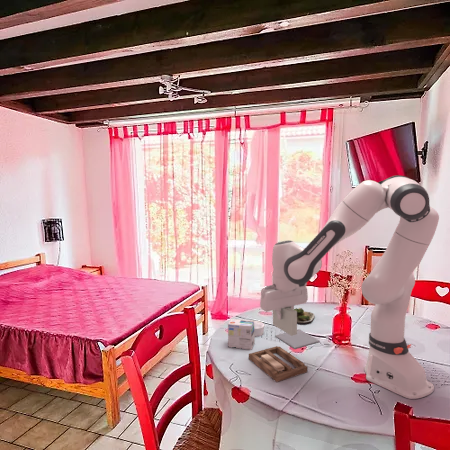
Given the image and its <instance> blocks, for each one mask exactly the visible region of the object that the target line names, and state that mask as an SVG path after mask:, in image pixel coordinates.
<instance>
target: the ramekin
mask: <svg viewBox="0 0 450 450" xmlns="http://www.w3.org/2000/svg"><path fill="white" fill-rule="evenodd" d="M264 329H265V324H264V322H262V321H259V320H254V335H255V337H260V336H263V334H264V332H265V331H264Z"/></svg>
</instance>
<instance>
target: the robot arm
mask: <svg viewBox="0 0 450 450" xmlns="http://www.w3.org/2000/svg"><path fill="white" fill-rule="evenodd" d="M384 209H390V210H392V212H394V214H396V215H397V216H399V218H400V219H399V221H398V224H397V226H396V228H395V230H394V233H393V234H392V237H391V239H390V241H389V243H388V244H387V247H386V249H385V251H384V252H383V254H382V255H381V257H379V259H378V261H377V262H376V264H375V265H374V267H373V268H372V270H371V271H370V272H369V274H368V275H367V277H366V278H364V279H363V281H362V283H361V287H360V288H361V293H362V296H363V297H364V299H365V300H366V301H368V302H369V303H371V304H373V305H374V306H373V308H372V310H371V314H370V332H369V333H368V345H369V349H368V355H367V360H366V363H365V365H364V372H365V374H366V375H365V379H366V381H368V382H371V383H372V384H375V385H378V386H380V387H382V388H384V389H386V390H389V392H392V393H395V394H397V395H399V396H401V397H404V398H406V399H410V400H411V399H412V400H415V399H416V400H417V399H421V398H424V397H427V396H429V395H431V394H432V393H434V390H435V387H434V384H433V383H432V382H430V381H429V380H427V373H426V370H425V368H424V367H423V366H422V364H420V362H419V361H418V360H417V359H416V358H415V357H414V356H413V355H412V353H411V352H410V351H409V349H410V348H412V343H411V344H407V340H406V338H405V327H406V318H407V317H406V315H407V311H408V308H409V303H410V299H411V295H412V291H413V289H414V287H415V284H416V278H415V275H414V273H413V272H415V270H416V268H417V267H418V266H419V265H420V264H421V262H422V260H423V258H424V256H425V254H426V252H427V250H428V248H429V246H430V245H431V242H432V240H433V238H434V235H435V234H436V231H437V227H438V224H439V220H440V215H439V213H438V212H437V210H436V209H435V208H433V207H431V206H430V196H429V194H428V191H427V190H426V188H424V187H423V186H422V185H421V184H419V182H417V181H416V180H414V179H411V178H410V177H408V176H406V175H400V174H398V175H392V176H390V177H388V178H386V179H383V180H380V181H379V182H377V181H375V180H371V179H368V180H364V181H362V182H360V183H359V184H357V186H355V187H354V188H353V189H352V190H350V192H349V193H348V194H347V195H346V196H344V197H343V198H342V199H341V201H340V203H338V205H337V206H336V208H335V209H334V210H333V212H332V213H331V214H330V217H329V218H328V220H327V221H326V223H325V224H324V225H323V227H322V229H321V230H320V231H319V233H318V234H317V235H316V236H314V238H313V239H312V240H311V241H310V242H309V244H307V245H306V246H305V247H303V246H302V247H301V246H300V245H298V243H296V242H295V241H293V240H283V241H282V240H281V241H280V242H276V243H275V244H274V245H273V246H272V247H273V248H272V255H271V257H272V258H271V264H272V269H273V270H272V273H271V274H272V276H271V277H272V281H271V282H272V284H270V285H265V286H263V288H261V290H260V303H259V307H260V309H261V310H263V311H264V312H271V311H272V312H273V310H275V311H276V313H277V318H278V319H279V320H280V319H283V314H281V313H280V311H281V308H285V307H289V308H292V309H295V306H298V305H302V304H303V305H304V304H306V303H307V302H308V299H309V296H308V295H309V294H308V293H309V292H308V288H307V285H308V282H309V281H310V280H311V279H312V278H313V277H315V275H316V274H317V273H319V271H320V270H321V268H322V265H323V263H322V262H323V261H322V259H323V258H324V257H325V256H326V254H328V253H329V252H330V250H331V249H332V248H334V247H335V246H336V245H337V244H339V243H340V242H342V241H343V240H345V239H347V238H349V237H351V236H352V235H354V234H355V233H357V232H358V231H359V230H361V229H362V228H363V227H365V226H366V225H367V223H369V222H370V220H371V219H372V218H373V217H374V216H375V215H376V214H377V213H378V212H380V211H382V210H384Z"/></svg>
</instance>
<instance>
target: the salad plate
mask: <svg viewBox="0 0 450 450" xmlns="http://www.w3.org/2000/svg"><path fill="white" fill-rule="evenodd" d="M294 310H296V311H297V325H308V324H311V323H312V322H313V320H314V319H315V313H313V312H311V311H305V309H304V308H303V307H298V308H297V307H296V308H294Z"/></svg>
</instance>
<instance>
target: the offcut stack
mask: <svg viewBox="0 0 450 450" xmlns="http://www.w3.org/2000/svg"><path fill="white" fill-rule="evenodd" d="M260 359H261V360H263V361H264V362H265V363H266V364H268V365H269V366H270V367H271V368H273V369H274V370H275V371H276V372H278V373H281V372H284V371H283V370H284V366H283V365H282V364H280V363H279V362H278V361H276V360H275V359H274V358H272V357H271V356H270V355H268V354H265V355H261V357H260Z"/></svg>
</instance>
